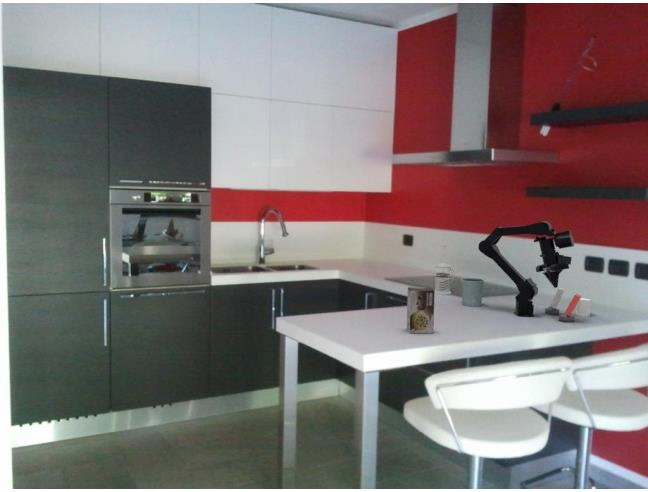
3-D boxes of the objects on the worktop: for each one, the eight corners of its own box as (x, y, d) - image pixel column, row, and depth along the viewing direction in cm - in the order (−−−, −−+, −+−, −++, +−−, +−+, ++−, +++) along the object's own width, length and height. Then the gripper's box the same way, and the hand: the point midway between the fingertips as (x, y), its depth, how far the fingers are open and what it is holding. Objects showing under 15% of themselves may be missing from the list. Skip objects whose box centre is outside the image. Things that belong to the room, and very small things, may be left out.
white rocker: (549, 308, 261) (558, 288, 258) (552, 306, 264) (561, 287, 262) (553, 310, 260) (562, 290, 257) (556, 308, 263) (565, 289, 261)
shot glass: (570, 313, 264) (571, 298, 263) (582, 313, 266) (583, 297, 265) (582, 316, 257) (583, 300, 257) (594, 316, 260) (595, 300, 259)
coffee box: (429, 329, 226) (431, 287, 225) (433, 333, 220) (435, 290, 218) (405, 329, 226) (407, 286, 225) (408, 333, 220) (410, 289, 218)
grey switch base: (543, 313, 262) (543, 305, 261) (547, 311, 267) (547, 303, 266) (557, 315, 258) (557, 307, 258) (561, 313, 263) (561, 305, 263)
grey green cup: (487, 306, 276) (488, 280, 274) (468, 307, 272) (469, 281, 271) (473, 302, 285) (475, 277, 284) (455, 303, 281) (457, 278, 280)
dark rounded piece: (556, 321, 247) (557, 312, 247) (560, 318, 252) (561, 310, 252) (571, 323, 244) (572, 314, 243) (575, 320, 249) (576, 312, 248)
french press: (428, 291, 315) (430, 243, 313) (446, 290, 320) (448, 243, 318) (439, 294, 306) (442, 245, 304) (458, 293, 311) (460, 245, 309)
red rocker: (562, 314, 246) (574, 294, 243) (565, 313, 250) (576, 293, 247) (567, 317, 245) (579, 297, 242) (570, 315, 249) (581, 296, 246)
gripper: (577, 245, 242) (585, 283, 241) (556, 248, 261) (563, 284, 260) (551, 250, 241) (559, 289, 240) (532, 253, 260) (539, 289, 259)
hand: (556, 287), depth 250 cm, fingers closed
